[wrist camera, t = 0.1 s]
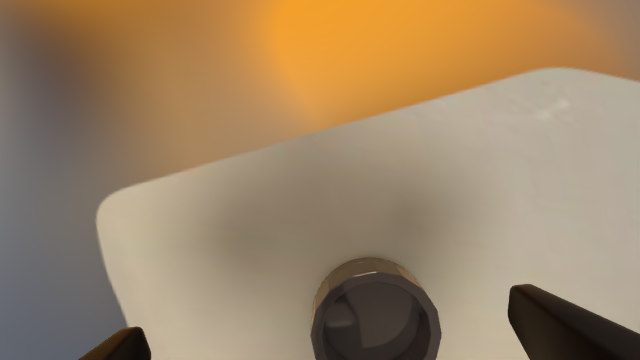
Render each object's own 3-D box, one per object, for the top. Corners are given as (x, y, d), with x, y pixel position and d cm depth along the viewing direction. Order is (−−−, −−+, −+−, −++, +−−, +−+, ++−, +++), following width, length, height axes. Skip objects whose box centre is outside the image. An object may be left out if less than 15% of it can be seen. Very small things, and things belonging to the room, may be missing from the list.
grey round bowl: (384, 386, 24) (393, 419, 21) (290, 328, 24) (286, 352, 21) (448, 297, 24) (466, 317, 21) (353, 235, 23) (358, 247, 20)
